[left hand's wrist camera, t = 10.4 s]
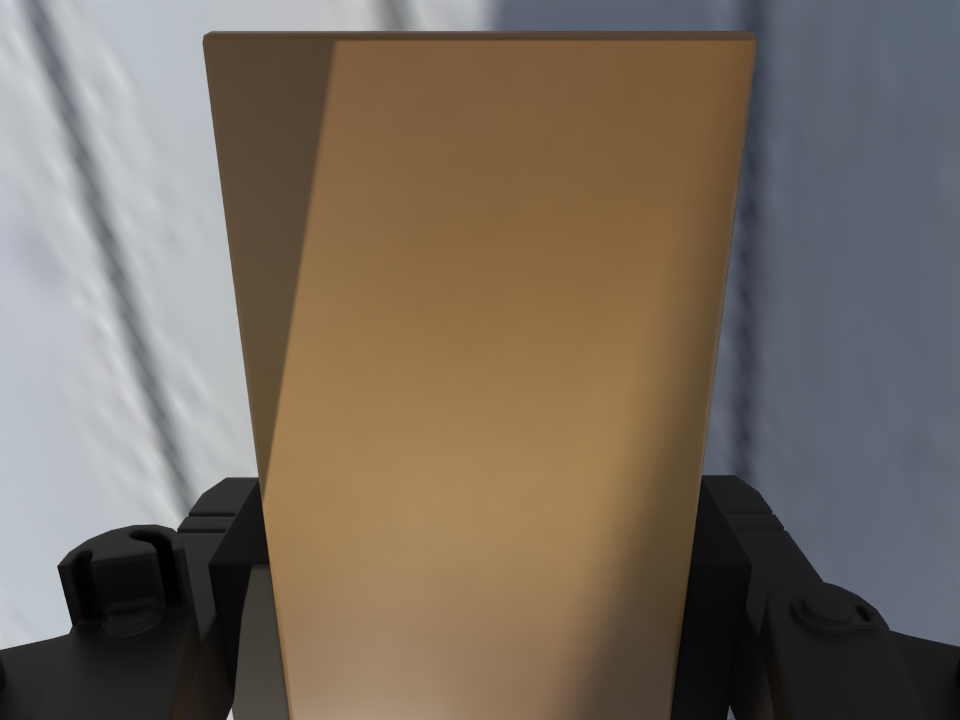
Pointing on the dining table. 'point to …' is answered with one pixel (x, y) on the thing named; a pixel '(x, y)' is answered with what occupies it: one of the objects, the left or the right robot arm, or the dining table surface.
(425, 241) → the bar
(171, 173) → the dining table surface
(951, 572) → the dining table surface
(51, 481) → the dining table surface
